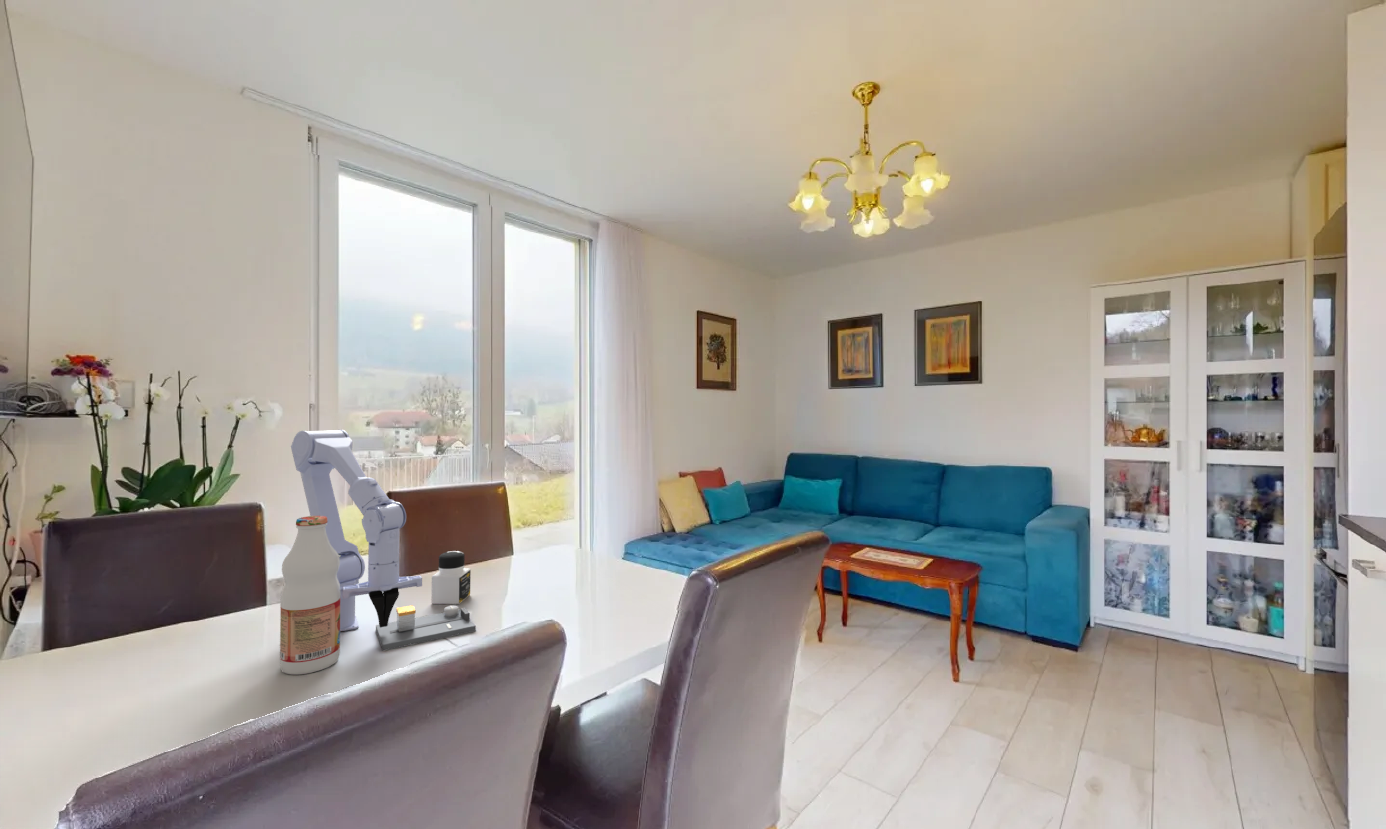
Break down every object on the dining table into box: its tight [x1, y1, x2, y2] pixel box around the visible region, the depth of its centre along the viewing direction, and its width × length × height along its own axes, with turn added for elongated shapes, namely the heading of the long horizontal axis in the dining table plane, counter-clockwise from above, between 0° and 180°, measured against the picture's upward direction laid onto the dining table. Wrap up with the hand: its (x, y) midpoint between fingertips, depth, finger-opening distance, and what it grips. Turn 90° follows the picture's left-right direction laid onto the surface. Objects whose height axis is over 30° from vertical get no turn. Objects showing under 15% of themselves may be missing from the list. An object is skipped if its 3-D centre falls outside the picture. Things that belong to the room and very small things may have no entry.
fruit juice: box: [279, 515, 341, 676], centre depth 105 cm, size 9×9×28 cm
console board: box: [375, 605, 477, 651], centre depth 122 cm, size 18×12×3 cm, turn 126°
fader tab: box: [395, 605, 416, 632], centre depth 120 cm, size 3×4×4 cm
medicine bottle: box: [430, 550, 472, 605], centre depth 142 cm, size 7×7×12 cm
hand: (383, 625), depth 117 cm, fingers closed
